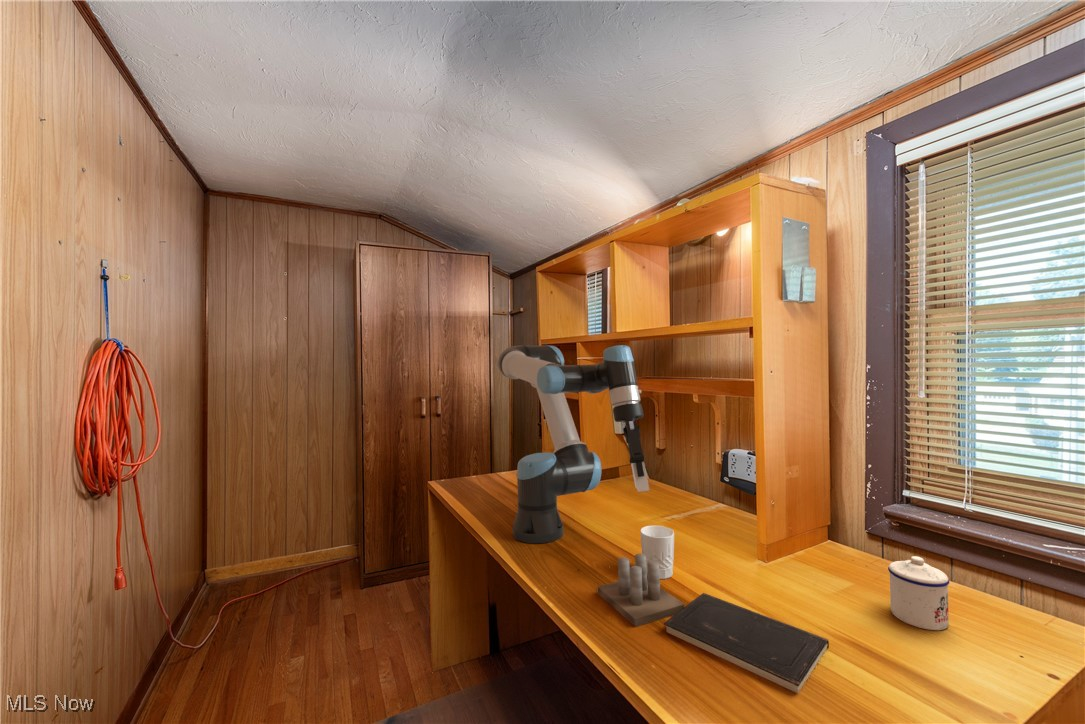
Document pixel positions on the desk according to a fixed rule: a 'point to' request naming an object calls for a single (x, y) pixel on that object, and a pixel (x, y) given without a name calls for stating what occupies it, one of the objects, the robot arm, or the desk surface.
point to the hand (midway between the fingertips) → (642, 489)
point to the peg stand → (639, 593)
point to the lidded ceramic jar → (919, 594)
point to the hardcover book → (749, 640)
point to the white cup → (659, 548)
